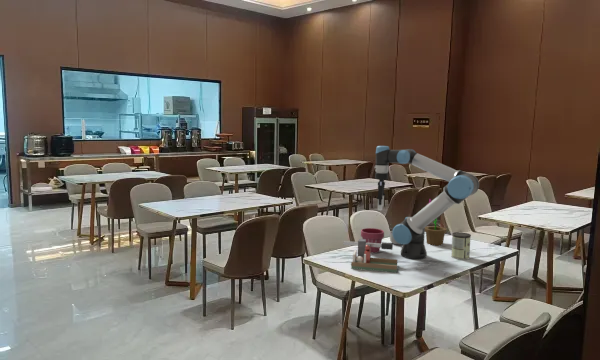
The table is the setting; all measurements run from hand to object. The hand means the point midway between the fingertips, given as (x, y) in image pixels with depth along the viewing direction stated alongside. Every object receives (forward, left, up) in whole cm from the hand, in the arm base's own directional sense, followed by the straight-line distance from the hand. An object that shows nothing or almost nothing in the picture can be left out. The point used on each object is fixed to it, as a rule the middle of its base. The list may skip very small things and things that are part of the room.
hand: (380, 208), depth 263 cm
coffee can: (-47, -10, -29) cm, 56 cm away
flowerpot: (-34, -39, -29) cm, 59 cm away
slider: (+6, +19, -27) cm, 33 cm away
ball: (+9, +23, -25) cm, 35 cm away
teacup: (-10, -34, -29) cm, 46 cm away
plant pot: (+5, -10, -29) cm, 31 cm away
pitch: (+1, +20, -29) cm, 35 cm away
